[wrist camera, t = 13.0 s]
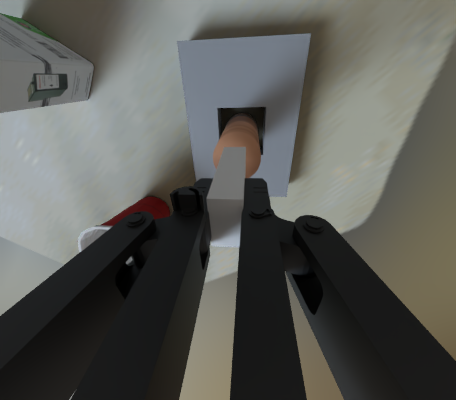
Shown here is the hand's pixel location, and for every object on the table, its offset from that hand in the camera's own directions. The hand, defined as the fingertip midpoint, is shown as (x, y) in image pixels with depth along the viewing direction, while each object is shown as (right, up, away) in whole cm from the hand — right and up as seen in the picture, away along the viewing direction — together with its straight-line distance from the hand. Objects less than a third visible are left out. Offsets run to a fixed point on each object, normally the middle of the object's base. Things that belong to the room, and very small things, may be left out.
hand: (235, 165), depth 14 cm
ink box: (-22, +15, +10) cm, 28 cm away
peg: (+1, +7, +12) cm, 14 cm away
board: (+1, +7, +12) cm, 14 cm away
